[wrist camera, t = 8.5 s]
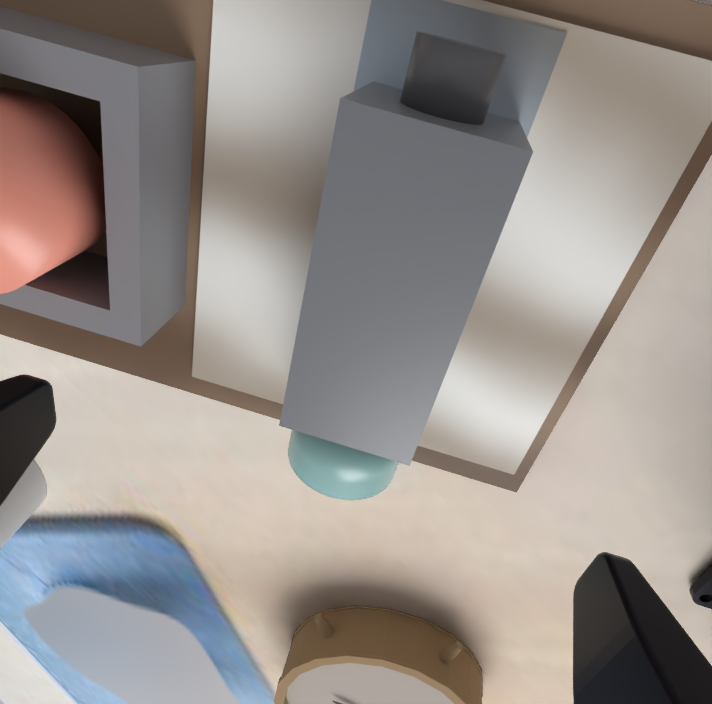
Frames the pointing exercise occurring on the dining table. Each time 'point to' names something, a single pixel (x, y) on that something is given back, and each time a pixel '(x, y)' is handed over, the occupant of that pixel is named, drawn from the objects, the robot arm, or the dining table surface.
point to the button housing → (116, 176)
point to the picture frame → (309, 166)
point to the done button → (44, 189)
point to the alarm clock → (377, 661)
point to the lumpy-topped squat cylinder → (22, 501)
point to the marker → (397, 262)
